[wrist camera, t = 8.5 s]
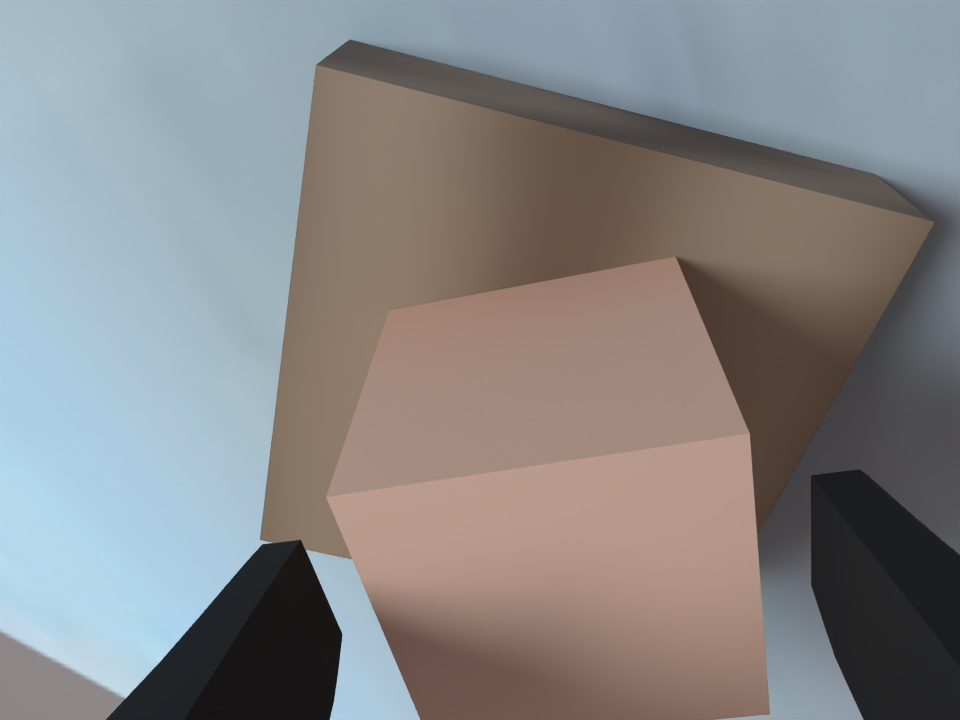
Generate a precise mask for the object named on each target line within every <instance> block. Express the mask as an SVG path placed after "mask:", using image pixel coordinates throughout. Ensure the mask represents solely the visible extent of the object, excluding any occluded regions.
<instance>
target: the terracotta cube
mask: <svg viewBox="0 0 960 720" xmlns="http://www.w3.org/2000/svg"><path fill="white" fill-rule="evenodd" d="M326 498H327V501H328V503H329V505H330V508H331V510H332V512H333V515H334V517H335V519H336V522H337V524H338V527H339V529H340V531H341V534H342V536H343V538H344V541H345V543H346V545H347V548H348V550H349V552H350V555H351V557H352V559H353V562H354V564H355V567H356V569H357V571H358V574H359V576H360V578H361V581H362V583H363V585H364V588H365V590H366V592H367V595H368V597H369V599H370V602H371V604H372V607H373V609H374V611H375V614H376V616H377V618H378V621H379V623H380V625H381V628H382V630H383V632H384V635H385V637H386V640H387V642H388V644H389V647H390V649H391V651H392V654H393V656H394V658H395V661H396V663H397V665H398V668H399V670H400V672H401V675H402V677H403V680H404V682H405V684H406V687H407V689H408V691H409V694H410V696H411V698H412V701H413V703H414V705H415V708H416V710H417V712H418V715H419V717H420V720H713V719H724V718H735V717H745V716H756V715H767V714H770V708H769V694H768V681H767V667H766V653H765V639H764V625H763V611H762V597H761V583H760V569H759V555H758V542H757V528H756V514H755V500H754V486H753V472H752V458H751V444H750V433H749V431H748V428H747V426H746V424H745V421H744V419H743V416H742V414H741V412H740V409H739V407H738V404H737V402H736V400H735V397H734V395H733V392H732V390H731V388H730V385H729V383H728V381H727V378H726V376H725V373H724V371H723V369H722V366H721V364H720V361H719V359H718V357H717V354H716V352H715V349H714V347H713V345H712V342H711V340H710V338H709V335H708V333H707V330H706V328H705V326H704V323H703V321H702V318H701V316H700V314H699V311H698V309H697V306H696V304H695V302H694V299H693V297H692V295H691V292H690V290H689V287H688V285H687V283H686V280H685V278H684V275H683V273H682V271H681V268H680V266H679V263H678V261H677V259H676V257H671V258H666V259H660V260H655V261H650V262H644V263H639V264H634V265H628V266H623V267H618V268H612V269H607V270H602V271H596V272H591V273H586V274H580V275H575V276H570V277H564V278H559V279H554V280H548V281H543V282H538V283H532V284H527V285H522V286H516V287H511V288H506V289H500V290H495V291H490V292H485V293H479V294H474V295H469V296H463V297H458V298H453V299H447V300H442V301H437V302H431V303H426V304H421V305H415V306H410V307H405V308H399V309H394V310H389V312H388V315H387V318H386V321H385V324H384V327H383V330H382V333H381V336H380V339H379V342H378V345H377V348H376V351H375V354H374V357H373V359H372V362H371V365H370V368H369V371H368V374H367V377H366V380H365V383H364V386H363V389H362V392H361V395H360V398H359V401H358V404H357V407H356V410H355V413H354V416H353V419H352V422H351V425H350V428H349V431H348V434H347V436H346V439H345V442H344V445H343V448H342V451H341V454H340V457H339V460H338V463H337V466H336V469H335V472H334V475H333V478H332V481H331V484H330V487H329V490H328V493H327V496H326Z"/></svg>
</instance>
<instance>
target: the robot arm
mask: <svg viewBox="0 0 960 720" xmlns="http://www.w3.org/2000/svg"><path fill="white" fill-rule="evenodd" d="M811 585H812V588H813V592H814V595H815V598H816V601H817V604H818V607H819V610H820V613H821V616H822V620H823V623H824V626H825V629H826V632H827V635H828V637H829V640H830V643H831V646H832V649H833V652H834V655H835V658H836V660H837V662H838V664H839V667H840V669H841V671H842V673H843V676H844V678H845V680H846V682H847V684H848V686H849V689H850V691H851V693H852V695H853V697H854V700H855V702H856V704H857V706H858V708H859V710H860V713H861V715H862V717H863V719H864V720H960V555H959V554H958V553H957V552H955V551H954V550H953V549H952V548H951V547H949V546H948V545H947V544H946V543H945V542H943V541H942V540H941V539H940V538H939V537H937V536H936V535H935V534H934V533H933V532H932V531H930V530H929V529H928V528H927V527H926V526H925V525H923V524H922V523H921V522H920V521H919V520H918V519H916V518H915V517H914V516H913V515H912V514H911V513H910V512H908V511H907V510H906V509H905V508H904V507H903V506H902V505H900V504H899V503H898V502H897V501H896V500H895V499H894V498H892V497H891V496H890V495H889V494H888V493H887V492H886V491H885V490H883V489H882V488H881V487H880V486H879V485H878V484H877V483H876V482H874V481H873V480H872V479H871V478H870V477H869V476H868V475H866V474H865V473H864V472H862V471H861V470H852V471H844V472H836V473H828V474H820V475H812V476H811ZM341 642H342V632H341V630H340V628H339V626H338V623H337V621H336V619H335V616H334V614H333V612H332V610H331V607H330V605H329V603H328V600H327V598H326V596H325V594H324V591H323V589H322V587H321V584H320V582H319V580H318V578H317V575H316V573H315V571H314V568H313V566H312V564H311V562H310V559H309V557H308V555H307V552H306V550H305V548H304V546H303V543H302V541H301V540H294V541H286V542H278V543H270V544H262V546H261V547H260V548H259V549H258V550H257V551H256V552H255V553H254V554H253V555H252V556H251V558H250V559H249V560H248V561H247V562H246V563H245V564H244V565H243V567H242V568H241V569H240V570H239V571H238V572H237V574H236V575H235V576H234V577H233V578H232V579H231V581H230V582H229V583H228V584H227V585H226V586H225V588H224V589H223V590H222V591H221V592H220V594H219V595H218V596H217V597H216V598H215V599H214V601H213V602H212V603H211V604H210V605H209V606H208V608H207V609H206V610H205V611H204V612H203V613H202V615H201V616H200V617H199V618H198V619H197V620H196V621H195V623H194V624H193V625H192V626H191V627H190V628H189V630H188V631H187V632H186V633H185V634H184V635H183V636H182V638H181V639H180V640H179V641H178V642H177V643H176V644H175V646H174V647H173V648H172V649H171V650H170V651H169V652H168V654H167V655H166V656H165V657H164V658H163V659H162V660H161V662H160V663H159V664H158V665H157V666H156V667H155V668H154V669H153V670H152V671H151V672H150V673H149V674H148V675H147V677H146V678H145V679H144V680H143V681H142V682H141V683H140V684H139V685H138V686H137V687H136V688H135V689H134V690H133V691H132V692H131V694H130V695H129V696H128V697H127V698H126V699H125V700H124V701H123V702H122V703H121V704H120V705H119V706H118V707H117V708H116V710H115V711H114V712H113V713H112V714H111V715H110V716H109V717H108V718H107V719H106V720H329V719H330V715H331V711H332V707H333V703H334V696H335V689H336V682H337V675H338V668H339V659H340V650H341Z"/></svg>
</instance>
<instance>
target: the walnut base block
mask: <svg viewBox="0 0 960 720" xmlns="http://www.w3.org/2000/svg"><path fill="white" fill-rule="evenodd" d="M934 223H935V222H934V221H933V220H932V219H930V218H929V217H928V216H927V215H925V214H924V213H923V212H922V211H920V210H919V209H918V208H917V207H915V206H914V205H913V204H911V203H910V202H909V201H908V200H906V199H905V198H904V197H903V196H901V195H900V194H899V193H898V192H896V191H895V190H894V189H892V188H891V187H890V186H889V185H887V184H886V183H885V182H884V181H882V180H881V179H880V178H879V177H877V176H876V175H875V174H872V173H868V172H864V171H860V170H856V169H852V168H848V167H844V166H840V165H836V164H832V163H829V162H825V161H821V160H817V159H813V158H809V157H805V156H801V155H797V154H793V153H790V152H786V151H782V150H778V149H774V148H770V147H766V146H762V145H758V144H754V143H751V142H747V141H743V140H739V139H735V138H731V137H727V136H723V135H719V134H715V133H712V132H708V131H704V130H700V129H696V128H692V127H688V126H684V125H680V124H676V123H673V122H669V121H665V120H661V119H657V118H653V117H649V116H645V115H641V114H637V113H634V112H630V111H626V110H622V109H618V108H614V107H610V106H606V105H602V104H598V103H594V102H591V101H587V100H583V99H579V98H575V97H571V96H567V95H563V94H559V93H555V92H552V91H548V90H544V89H540V88H536V87H532V86H528V85H524V84H520V83H516V82H513V81H509V80H505V79H501V78H497V77H493V76H489V75H485V74H481V73H477V72H474V71H470V70H466V69H462V68H458V67H454V66H450V65H446V64H442V63H438V62H435V61H431V60H427V59H423V58H419V57H415V56H411V55H407V54H403V53H399V52H396V51H392V50H388V49H384V48H380V47H376V46H372V45H368V44H364V43H360V42H356V41H353V40H349V41H347V42H346V43H345V44H343V45H342V46H341V47H339V48H338V49H337V50H335V51H334V52H333V53H331V54H330V55H329V56H327V57H326V58H325V59H323V60H322V61H321V62H319V63H318V64H317V65H316V69H315V78H314V86H313V95H312V103H311V112H310V120H309V129H308V137H307V146H306V154H305V163H304V171H303V179H302V188H301V196H300V205H299V213H298V222H297V230H296V239H295V247H294V256H293V264H292V273H291V281H290V290H289V298H288V306H287V315H286V323H285V332H284V340H283V349H282V357H281V366H280V374H279V383H278V391H277V400H276V408H275V417H274V425H273V434H272V442H271V450H270V459H269V467H268V476H267V484H266V493H265V501H264V510H263V518H262V527H261V535H260V540H263V541H267V542H272V543H278V542H286V541H294V540H301V541H302V543H303V546H304V548H305V550H310V551H315V552H320V553H324V554H329V555H334V556H339V557H343V558H348V559H352V557H351V555H350V552H349V550H348V548H347V545H346V543H345V541H344V538H343V536H342V534H341V531H340V529H339V527H338V524H337V522H336V519H335V517H334V515H333V512H332V510H331V508H330V505H329V503H328V501H327V498H326V496H327V493H328V490H329V487H330V484H331V481H332V478H333V475H334V472H335V469H336V466H337V463H338V460H339V457H340V454H341V451H342V448H343V445H344V442H345V439H346V436H347V434H348V431H349V428H350V425H351V422H352V419H353V416H354V413H355V410H356V407H357V404H358V401H359V398H360V395H361V392H362V389H363V386H364V383H365V380H366V377H367V374H368V371H369V368H370V365H371V362H372V359H373V357H374V354H375V351H376V348H377V345H378V342H379V339H380V336H381V333H382V330H383V327H384V324H385V321H386V318H387V315H388V312H389V310H394V309H399V308H405V307H410V306H415V305H421V304H426V303H431V302H437V301H442V300H447V299H453V298H458V297H463V296H469V295H474V294H479V293H485V292H490V291H495V290H500V289H506V288H511V287H516V286H522V285H527V284H532V283H538V282H543V281H548V280H554V279H559V278H564V277H570V276H575V275H580V274H586V273H591V272H596V271H602V270H607V269H612V268H618V267H623V266H628V265H634V264H639V263H644V262H650V261H655V260H660V259H666V258H671V257H676V259H677V261H678V263H679V266H680V268H681V271H682V273H683V275H684V278H685V280H686V283H687V285H688V287H689V290H690V292H691V295H692V297H693V299H694V302H695V304H696V306H697V309H698V311H699V314H700V316H701V318H702V321H703V323H704V326H705V328H706V330H707V333H708V335H709V338H710V340H711V342H712V345H713V347H714V349H715V352H716V354H717V357H718V359H719V361H720V364H721V366H722V369H723V371H724V373H725V376H726V378H727V381H728V383H729V385H730V388H731V390H732V392H733V395H734V397H735V400H736V402H737V404H738V407H739V409H740V412H741V414H742V416H743V419H744V421H745V424H746V426H747V428H748V431H749V433H750V444H751V458H752V472H753V486H754V500H755V514H756V528H757V535H758V533H759V531H760V529H761V527H762V526H763V524H764V522H765V520H766V519H767V517H768V515H769V513H770V512H771V510H772V508H773V506H774V505H775V503H776V501H777V499H778V498H779V496H780V494H781V492H782V490H783V489H784V487H785V485H786V483H787V482H788V480H789V478H790V476H791V475H792V473H793V471H794V469H795V468H796V466H797V464H798V462H799V461H800V459H801V457H802V455H803V453H804V452H805V450H806V448H807V446H808V445H809V443H810V441H811V439H812V438H813V436H814V434H815V432H816V431H817V429H818V427H819V425H820V424H821V422H822V420H823V418H824V416H825V415H826V413H827V411H828V409H829V408H830V406H831V404H832V402H833V401H834V399H835V397H836V395H837V394H838V392H839V390H840V388H841V387H842V385H843V383H844V381H845V379H846V378H847V376H848V374H849V372H850V371H851V369H852V367H853V365H854V364H855V362H856V360H857V358H858V357H859V355H860V353H861V351H862V350H863V348H864V346H865V344H866V343H867V341H868V339H869V337H870V335H871V334H872V332H873V330H874V328H875V327H876V325H877V323H878V321H879V320H880V318H881V316H882V314H883V313H884V311H885V309H886V307H887V306H888V304H889V302H890V300H891V298H892V297H893V295H894V293H895V291H896V290H897V288H898V286H899V284H900V283H901V281H902V279H903V277H904V276H905V274H906V272H907V270H908V269H909V267H910V265H911V263H912V261H913V260H914V258H915V256H916V254H917V253H918V251H919V249H920V247H921V246H922V244H923V242H924V240H925V239H926V237H927V235H928V233H929V232H930V230H931V228H932V226H933V224H934Z"/></svg>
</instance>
